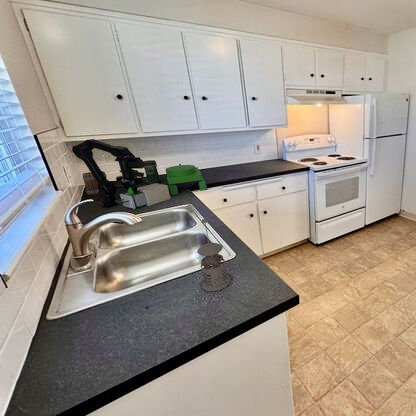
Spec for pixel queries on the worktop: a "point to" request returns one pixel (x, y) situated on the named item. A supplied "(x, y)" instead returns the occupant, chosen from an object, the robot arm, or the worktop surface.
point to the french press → (214, 276)
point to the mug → (91, 183)
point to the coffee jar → (151, 172)
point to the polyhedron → (131, 191)
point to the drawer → (133, 200)
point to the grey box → (155, 193)
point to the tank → (184, 177)
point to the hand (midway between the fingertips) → (133, 193)
